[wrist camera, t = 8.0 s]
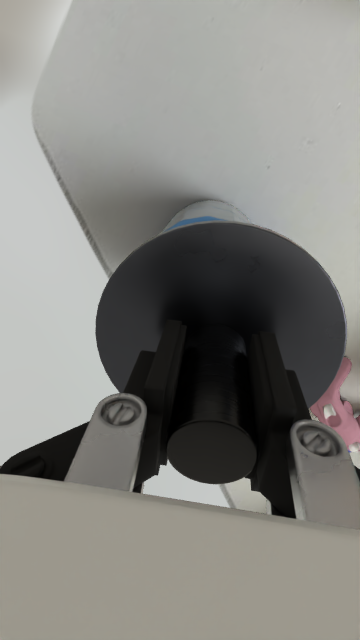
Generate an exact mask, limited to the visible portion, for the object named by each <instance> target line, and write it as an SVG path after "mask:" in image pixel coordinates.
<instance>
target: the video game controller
mask: <svg viewBox="0 0 360 640" xmlns="http://www.w3.org/2000/svg"><path fill="white" fill-rule="evenodd" d="M351 366H352V363H351V361H350V359H349V358H346V357H343V360H342V363H341V366H340V368H339V370H338V373H337V375H336V377H335V379H334V380H333V382H332V383H331V385H330V386H329V388H328V389H327V391H326V392H325V393H324V394H323V395H322V396H321V398H320V399H319V400H318V401H317V402H316V403H315V404H314V405H312V406H311V407H310V409H311V411H312V413H313V414H314V415H315V416H316V417H318V419H319V421H320V422H322V423H324V424H326V425H328V426H330V427H331V428H332V429H334V430H335V431H336V432H337V433H338V434H339V435H340V436H341V437H342V438H343V440H344V442H345V444H346V446H347V449H348V451H349V452H358V451H360V415H359V416H358V417H357V418H356V419H355V418H354V417H353V409H352V406H351V404H350V403H349V402H348V401H341V400H340V392H339V389H340V387H341V385H342V383H343V382H344V380H345V379H346V377H347V376H348V374H349V372H350V370H351Z"/></svg>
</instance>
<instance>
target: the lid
mask: <svg viewBox="0 0 360 640" xmlns="http://www.w3.org/2000/svg"><path fill="white" fill-rule="evenodd" d="M167 320H175V321H181V322H182V323H181V325H185V326H187V328H186V338H185V348H184V355H183V360H182V365H181V370H180V375H179V381H178V386H177V391H176V396H175V401H174V406H173V411H172V417H171V422H170V427H169V430H168V435H167V440H166V446H165V448H166V455H167V457H168V460H169V462H170V463H171V464H172V466H173V467H174V468H175V469H176V470H177V471H178V472H180V473H181V474H182V475H184V476H186V477H188V478H190V479H192V480H195V481H198V482H202V483H208V484H225V483H230V482H234V481H237V480H239V479H241V478H243V477H245V476H246V475H248V474H249V473H250V472H251V471H252V470H253V469H254V467H255V465H256V463H257V461H258V456H259V451H258V443H257V435H256V427H255V419H254V411H253V403H252V395H251V387H250V379H249V371H248V362H247V356H248V351H249V347H250V342H251V337H252V335H253V334H256V335H257V334H258V332H259V331H263V332H271V333H275V336H276V339H277V343H278V346H279V349H280V353H281V356H282V360H283V363H284V366H285V369H287V370H293V371H295V373H296V375H297V378H298V381H299V384H300V387H301V390H302V393H303V396H304V399H305V402H306V404H307V407H308V409H309V408H310V407H311V406H312V405H314V404H315V403H316V402H317V401H318V400H319V399H320V398H321V396H322V395H323V394H324V393H325V392H326V391H327V389H328V388H329V386H330V385H331V383H332V382H333V380H334V379H335V377H336V375H337V373H338V370H339V368H340V366H341V363H342V360H343V357H344V353H345V348H346V341H347V321H346V316H345V311H344V306H343V303H342V300H341V298H340V295H339V292H338V290H337V289H336V287H335V285H334V283H333V281H332V280H331V278H330V276H329V275H328V274H327V273H326V271H325V270H324V269H323V268H322V266H321V265H320V264H319V263H318V262H317V261H316V260H315V259H314V258H313V257H312V256H311V255H310V254H309V253H308V252H307V251H306V250H304V249H303V248H302V247H301V246H299V245H298V244H296V243H295V242H293V241H292V240H290V239H289V238H287V237H285V236H283V235H281V234H278V233H276V232H274V231H272V230H270V229H267V228H263V227H260V226H257V225H254V224H249V223H243V222H237V221H221V220H213V221H203V222H195V223H191V224H186V225H182V226H178V227H176V228H173V229H170V230H168V231H165V232H163V233H161V234H159V235H157V236H155V237H153V238H152V239H150V240H148V241H146V242H145V243H144V244H142V245H141V246H140V247H138V248H137V249H136V250H134V251H133V252H132V253H131V254H130V255H129V256H128V257H127V258H126V259H125V260H124V261H123V262H122V263H121V264H120V265H119V267H118V268H117V269H116V271H115V272H114V273H113V275H112V276H111V278H110V279H109V281H108V283H107V285H106V287H105V289H104V291H103V293H102V296H101V299H100V302H99V305H98V310H97V316H96V341H97V347H98V351H99V355H100V359H101V362H102V364H103V366H104V368H105V371H106V373H107V375H108V376H109V378H110V380H111V381H112V383H113V384H114V386H115V387H116V388H117V389H118V391H119V392H120V393H123V392H124V389H125V387H126V385H127V382H128V380H129V377H130V375H131V373H132V370H133V368H134V365H135V363H136V361H137V358H138V356H139V354H140V352H141V350H144V351H152V352H156V351H157V348H158V345H159V342H160V339H161V336H162V333H163V330H164V327H165V324H166V321H167Z"/></svg>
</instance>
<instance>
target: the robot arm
mask: <svg viewBox="0 0 360 640" xmlns="http://www.w3.org/2000/svg"><path fill="white" fill-rule="evenodd" d="M181 323H182V322H181V321H175V320H167V321H166V324H165V327H164V330H163V333H162V336H161V339H160V342H159V345H158V348H157V351H156V352H152V351H144V350H141V352H140V354H139V356H138V358H137V361H136V363H135V365H134V368H133V370H132V373H131V375H130V377H129V380H128V382H127V385H126V387H125V389H124V392H123V393H118V394H113V395H110V396H108V397H106V398H104V399H103V400H102V401H100V402H99V404H98V405H97V407H96V409H95V411H94V413H93V415H92V418H91V420H90V421H89V422H87V423H84V424H82V425H80V426H78V427H75V428H73V429H71V430H69V431H66V432H64V433H62V434H60V435H57V436H55V437H53V438H51V439H48V440H46V441H44V442H42V443H39V444H37V445H35V446H33V447H30V448H28V449H26V450H23V451H21V452H19V453H18V454H16V455H14V456H12V457H11V458H10V459H9V460H7V461H6V462H5V463H4V464H3V465H2V466H0V640H360V469H358V468H357V467H356V466H354V465H353V462H352V460H351V457H350V454H349V451H348V449H347V446H346V444H345V442H344V440H343V438H342V437H341V436H340V435H339V434H338V433H337V432H336V431H335V430H334V429H332V428H331V427H330V426H328V425H326V424H324V423H322V422H319V421H315V420H312V419H311V416H310V413H309V410H308V407H307V404H306V402H305V399H304V396H303V393H302V390H301V387H300V384H299V381H298V378H297V375H296V373H295V371H293V370H287V369H285V366H284V363H283V360H282V356H281V353H280V349H279V346H278V343H277V339H276V336H275V333H271V332H263V331H259V332H258V334H257V335H256V334H253V335H252V337H251V342H250V347H249V351H248V356H247V362H248V371H249V379H250V387H251V395H252V403H253V411H254V419H255V427H256V435H257V443H258V451H259V456H258V461H257V463H256V465H255V467H254V469H253V470H252V471H251V472H250V473H249V474H248V475H246V476H245V478H248V479H250V480H251V490H252V491H258V492H260V493H261V494H262V495H264V496H265V497H266V498H267V501H266V513H267V514H263V513H257V512H251V511H245V510H239V509H233V508H227V507H220V506H214V505H208V504H202V503H196V502H190V501H184V500H177V499H172V498H165V497H159V496H153V495H147V494H143V487H144V481H146V480H147V479H149V478H151V477H152V476H154V475H158V473H159V468H160V465H167V460H168V457H167V455H166V448H165V446H166V440H167V435H168V430H169V427H170V422H171V417H172V411H173V406H174V401H175V396H176V391H177V386H178V381H179V375H180V370H181V365H182V360H183V355H184V348H185V338H186V328H187V326H185V325H181Z"/></svg>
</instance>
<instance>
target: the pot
mask: <svg viewBox="0 0 360 640" xmlns="http://www.w3.org/2000/svg"><path fill="white" fill-rule="evenodd" d="M213 220H221V221H237V222H243V223H249V224H250V222H249V220H248V218H247V217H246V216H245V215H244V214H243V213H242V212H241V211H239V210H238V209H237V208H235V207H234V206H232V205H230V204H228V203H225V202H222V201H216V200H205V201H199V202H195V203H192V204H190V205H189V206H187V207H185V208H184V209H182V210H181V211H180V212H178V213H177V214H176V215H175V216H174V217H173V218H172V220H171V221H170V222H169V223H168V225H167V226H166V227H165V228H164V230H163V231H162V232H161V233H163V232H165V231H168V230H170V229H173V228H176V227H178V226H182V225H186V224H191V223H195V222H203V221H213ZM161 233H160V234H161Z"/></svg>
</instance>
